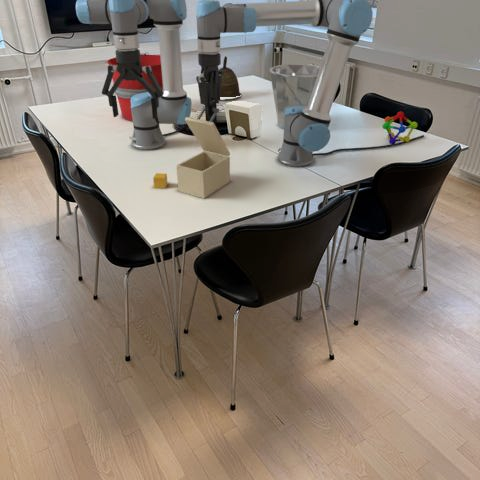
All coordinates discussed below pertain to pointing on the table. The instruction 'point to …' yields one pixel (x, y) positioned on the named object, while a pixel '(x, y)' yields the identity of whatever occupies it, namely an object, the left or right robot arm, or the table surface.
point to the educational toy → (398, 128)
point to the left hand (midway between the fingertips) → (135, 116)
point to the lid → (208, 134)
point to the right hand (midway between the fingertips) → (211, 122)
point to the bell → (229, 82)
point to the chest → (203, 174)
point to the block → (160, 180)
